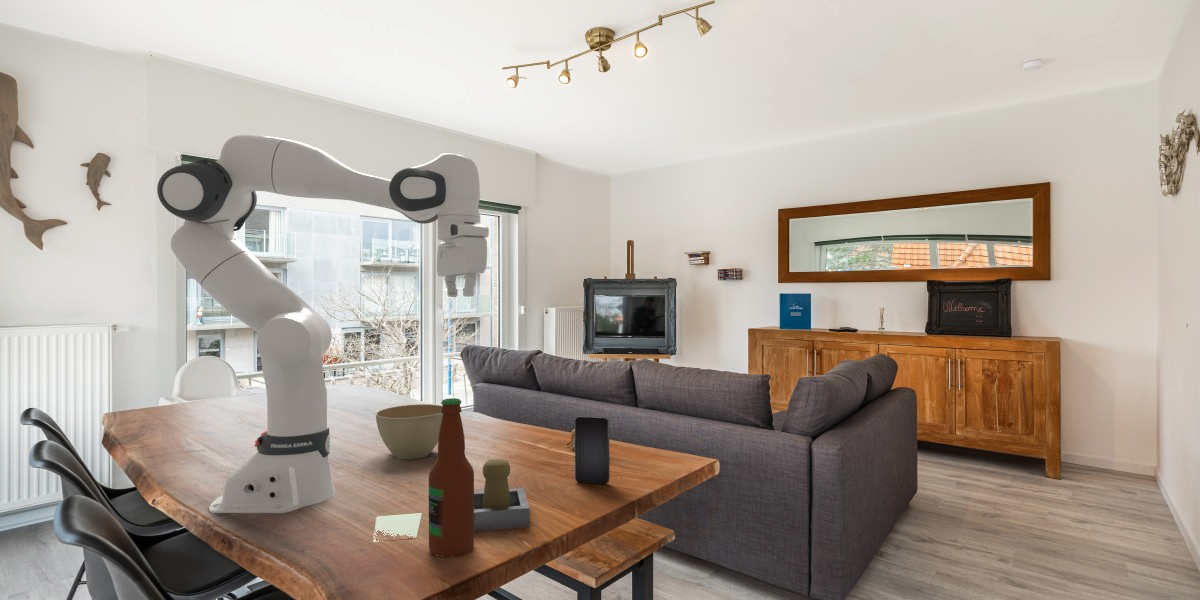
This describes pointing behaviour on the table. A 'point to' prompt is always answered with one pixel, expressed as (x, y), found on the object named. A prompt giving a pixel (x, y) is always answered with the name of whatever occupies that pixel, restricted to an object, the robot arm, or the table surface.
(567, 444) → the lion figurine
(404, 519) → the mat
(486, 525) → the grey square tray
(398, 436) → the cream bowl
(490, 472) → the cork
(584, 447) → the phone
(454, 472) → the bottle
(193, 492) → the table surface
